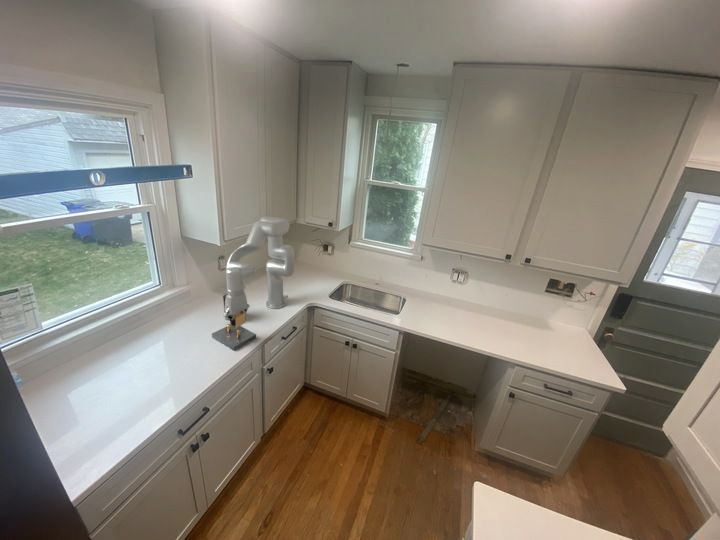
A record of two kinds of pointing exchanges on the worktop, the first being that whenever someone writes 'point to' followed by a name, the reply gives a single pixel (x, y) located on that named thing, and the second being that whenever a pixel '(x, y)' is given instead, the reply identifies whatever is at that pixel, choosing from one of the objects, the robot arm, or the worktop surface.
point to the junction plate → (233, 336)
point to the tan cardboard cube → (239, 319)
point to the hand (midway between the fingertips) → (237, 322)
